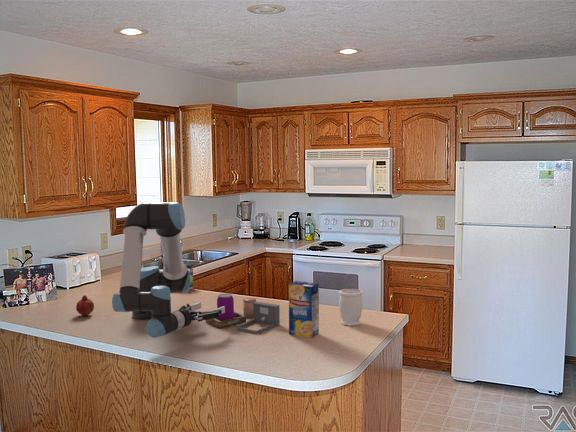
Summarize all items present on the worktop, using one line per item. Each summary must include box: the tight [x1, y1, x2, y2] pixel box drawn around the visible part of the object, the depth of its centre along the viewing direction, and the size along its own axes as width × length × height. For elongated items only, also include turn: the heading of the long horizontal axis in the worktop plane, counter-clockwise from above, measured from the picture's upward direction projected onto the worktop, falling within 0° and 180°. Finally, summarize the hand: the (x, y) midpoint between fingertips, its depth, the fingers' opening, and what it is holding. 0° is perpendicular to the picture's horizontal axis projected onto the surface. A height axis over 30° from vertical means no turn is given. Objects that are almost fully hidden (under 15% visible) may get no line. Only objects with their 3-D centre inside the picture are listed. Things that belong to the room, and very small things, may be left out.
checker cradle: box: [236, 301, 281, 335], centre depth 240 cm, size 12×16×9 cm
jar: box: [338, 288, 364, 327], centre depth 244 cm, size 11×10×15 cm
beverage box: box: [288, 280, 320, 339], centre depth 229 cm, size 7×11×22 cm, turn 61°
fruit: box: [75, 295, 95, 317], centre depth 260 cm, size 8×8×10 cm
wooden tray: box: [205, 310, 247, 329], centre depth 248 cm, size 13×14×3 cm
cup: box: [242, 297, 257, 319], centre depth 257 cm, size 6×6×8 cm
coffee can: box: [183, 262, 194, 290], centre depth 316 cm, size 10×10×14 cm
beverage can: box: [216, 292, 235, 321], centre depth 247 cm, size 8×8×12 cm
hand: (212, 307), depth 239 cm, fingers open, 13 cm apart
